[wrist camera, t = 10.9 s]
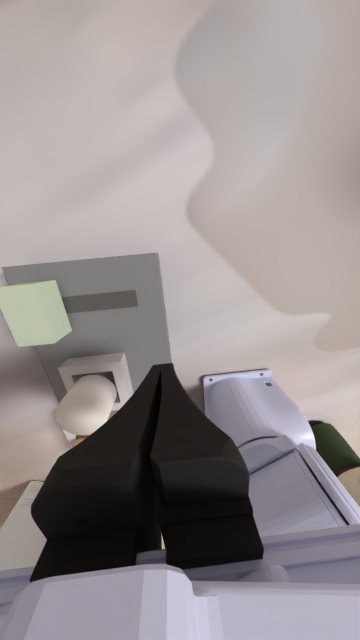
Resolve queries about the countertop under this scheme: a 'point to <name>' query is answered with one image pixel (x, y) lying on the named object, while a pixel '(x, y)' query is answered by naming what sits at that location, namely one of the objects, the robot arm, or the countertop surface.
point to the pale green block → (34, 312)
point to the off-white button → (86, 405)
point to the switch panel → (104, 322)
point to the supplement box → (21, 533)
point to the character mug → (338, 457)
